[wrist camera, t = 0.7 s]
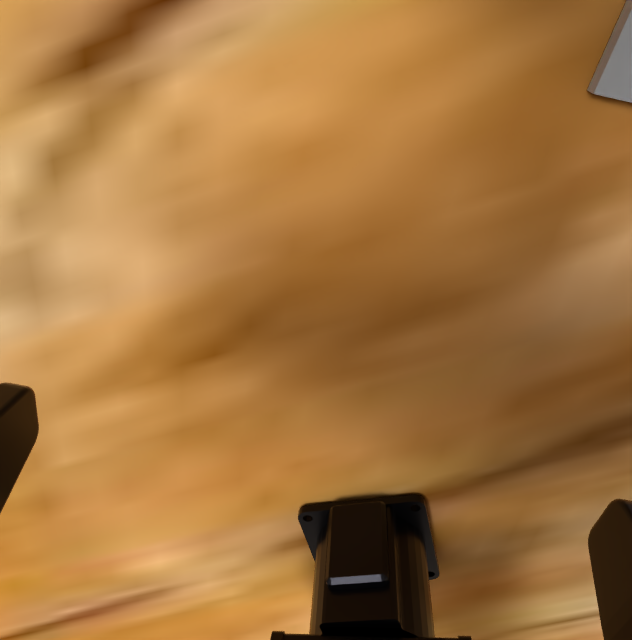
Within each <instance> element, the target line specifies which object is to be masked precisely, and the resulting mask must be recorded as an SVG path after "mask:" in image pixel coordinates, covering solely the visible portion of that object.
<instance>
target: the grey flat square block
mask: <svg viewBox="0 0 632 640" xmlns="http://www.w3.org/2000/svg"><path fill="white" fill-rule="evenodd" d="M587 91H589V92H591V93H593V94H596V95H600V96H605V97H609V98H613V99H618V100H622V101H626V102H631V103H632V0H626V3H625V5H624V7H623V9H622V12H621V14H620V16H619V19H618V21H617V23H616V25H615V28H614V30H613V32H612V34H611V37H610V39H609V41H608V43H607V46H606V48H605V50H604V53H603V55H602V57H601V59H600V62H599V64H598V66H597V68H596V71H595V73H594V75H593V78H592V80H591V82H590V84H589V87H588V89H587Z"/></svg>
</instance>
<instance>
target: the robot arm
mask: <svg viewBox="0 0 632 640" xmlns="http://www.w3.org/2000/svg"><path fill="white" fill-rule="evenodd" d="M38 430H39V424H38V416H37V408H36V400H35V394H34V391H33V390H32V388H30V387H28V386H23V385H18V384H12V383H1V384H0V513H1V511H2V509H3V507H4V505H5V503H6V501H7V499H8V497H9V495H10V493H11V491H12V489H13V487H14V485H15V483H16V481H17V479H18V477H19V475H20V472H21V470H22V468H23V466H24V464H25V462H26V460H27V458H28V456H29V454H30V452H31V450H32V448H33V446H34V444H35V442H36V439H37V436H38ZM298 520H299V522H300V525H301V527H302V530H303V533H304V535H305V538H306V540H307V543H308V545H309V548H310V550H311V553H312V555H313V558H314V560H315V573H314V585H313V597H312V609H311V620H310V632H309V634H285V631H273V632H272V635H271V639H270V640H471V636H458V638H435V634H434V624H433V615H432V605H431V596H430V586H429V580H432V579H436V578H438V576H439V567H438V562H437V557H436V552H435V547H434V543H433V538H432V533H431V528H430V523H429V518H428V514H427V509H426V504H425V500H424V498H423V497H421V496H419V495H407V496H397V497H387V498H377V499H367V500H357V501H347V502H338V503H328V504H318V505H308V506H303V507H301V508H300V509H299V514H298ZM588 547H589V554H590V560H591V566H592V572H593V578H594V584H595V590H596V596H597V602H598V608H599V614H600V620H601V626H602V631H603V636H604V640H632V501H629V500H623V499H615V500H613V501H612V502H611V503H610V504H609V505H608V506H607V508H606V509H605V511H604V512H603V513H602V515H601V516H600V518H599V519H598V520H597V522H596V523H595V525H594V526H593V527H592V529H591V531H590V534H589V538H588Z"/></svg>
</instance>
